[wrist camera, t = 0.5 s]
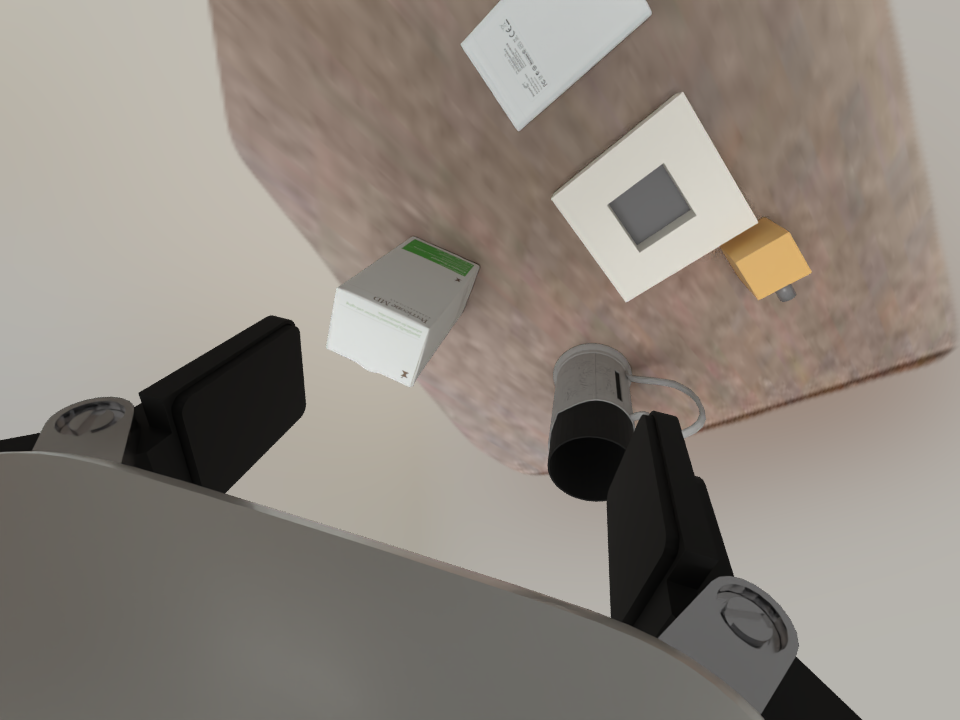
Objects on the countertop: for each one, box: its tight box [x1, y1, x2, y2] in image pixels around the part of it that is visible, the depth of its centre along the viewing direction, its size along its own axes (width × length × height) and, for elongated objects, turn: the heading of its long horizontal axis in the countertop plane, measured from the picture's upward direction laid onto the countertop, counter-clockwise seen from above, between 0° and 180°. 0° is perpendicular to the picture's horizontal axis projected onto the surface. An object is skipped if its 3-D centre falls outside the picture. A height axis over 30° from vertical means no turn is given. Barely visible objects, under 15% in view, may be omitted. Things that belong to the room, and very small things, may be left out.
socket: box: [551, 92, 759, 302], centre depth 37 cm, size 12×12×3 cm
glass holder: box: [548, 343, 706, 502], centre depth 41 cm, size 9×14×15 cm, turn 122°
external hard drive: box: [461, 0, 652, 131], centre depth 33 cm, size 2×8×12 cm
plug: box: [719, 217, 812, 302], centre depth 36 cm, size 6×4×6 cm
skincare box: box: [326, 236, 480, 387], centre depth 40 cm, size 8×7×16 cm
